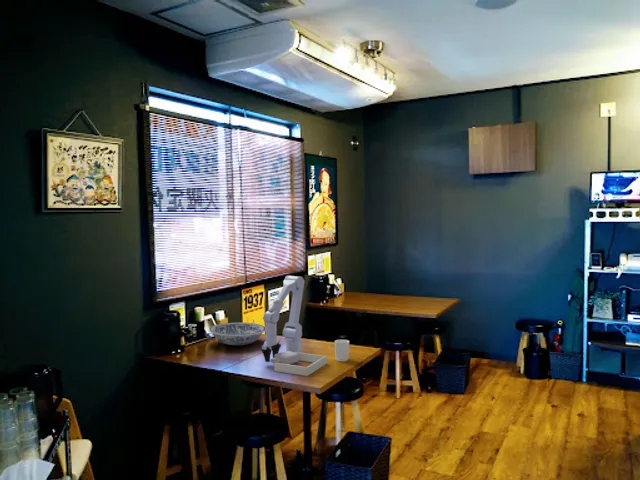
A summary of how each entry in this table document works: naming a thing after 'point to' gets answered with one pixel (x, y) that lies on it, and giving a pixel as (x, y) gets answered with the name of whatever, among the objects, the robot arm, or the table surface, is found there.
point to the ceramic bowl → (237, 332)
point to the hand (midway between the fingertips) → (271, 359)
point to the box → (301, 370)
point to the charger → (285, 358)
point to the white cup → (341, 349)
